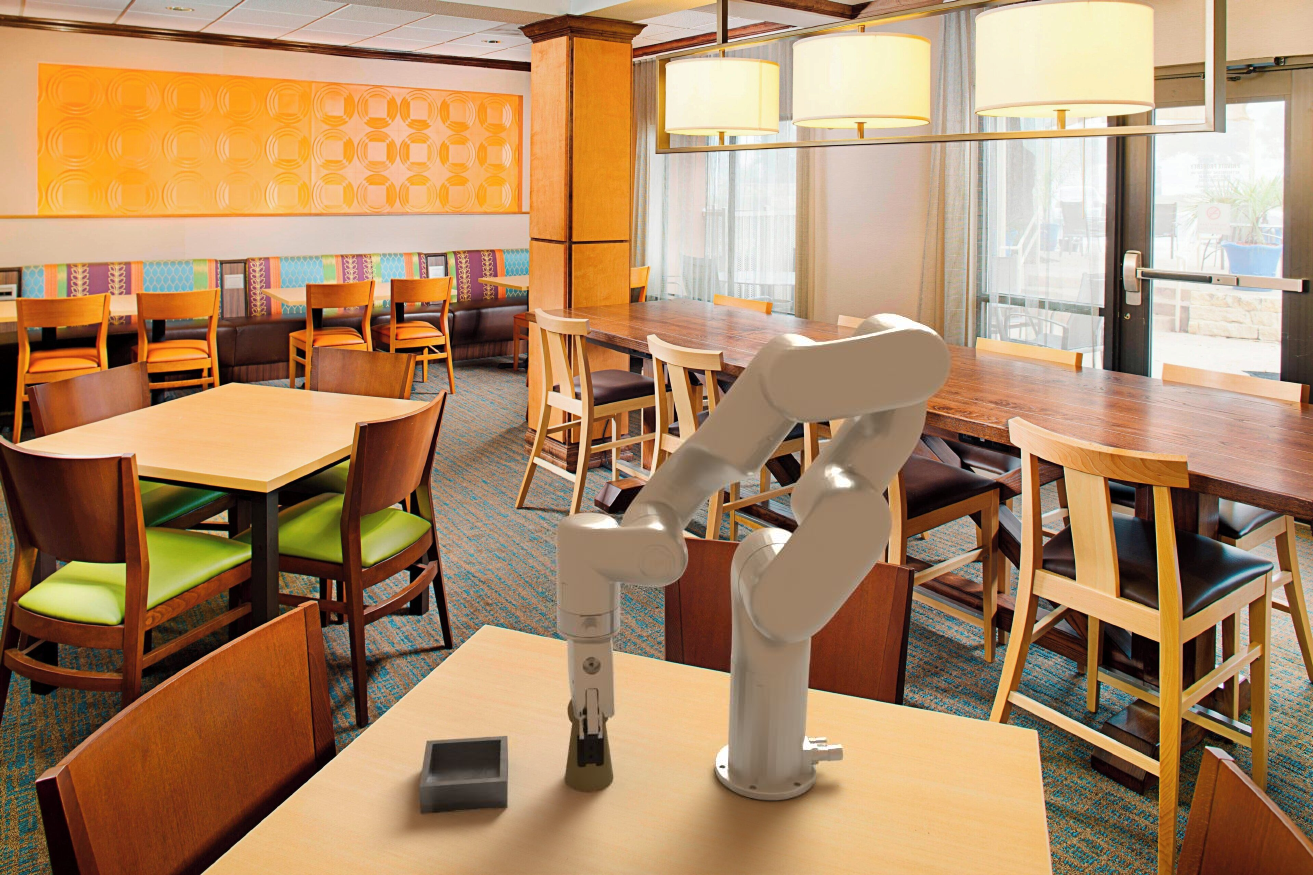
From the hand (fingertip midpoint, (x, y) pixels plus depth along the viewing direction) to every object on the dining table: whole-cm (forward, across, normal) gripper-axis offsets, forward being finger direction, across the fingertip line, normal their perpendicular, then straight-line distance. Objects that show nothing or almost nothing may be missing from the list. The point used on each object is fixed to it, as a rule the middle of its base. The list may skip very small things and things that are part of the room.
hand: (589, 753), depth 121 cm
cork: (+3, 0, 0) cm, 3 cm away
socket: (+3, 0, +15) cm, 15 cm away
